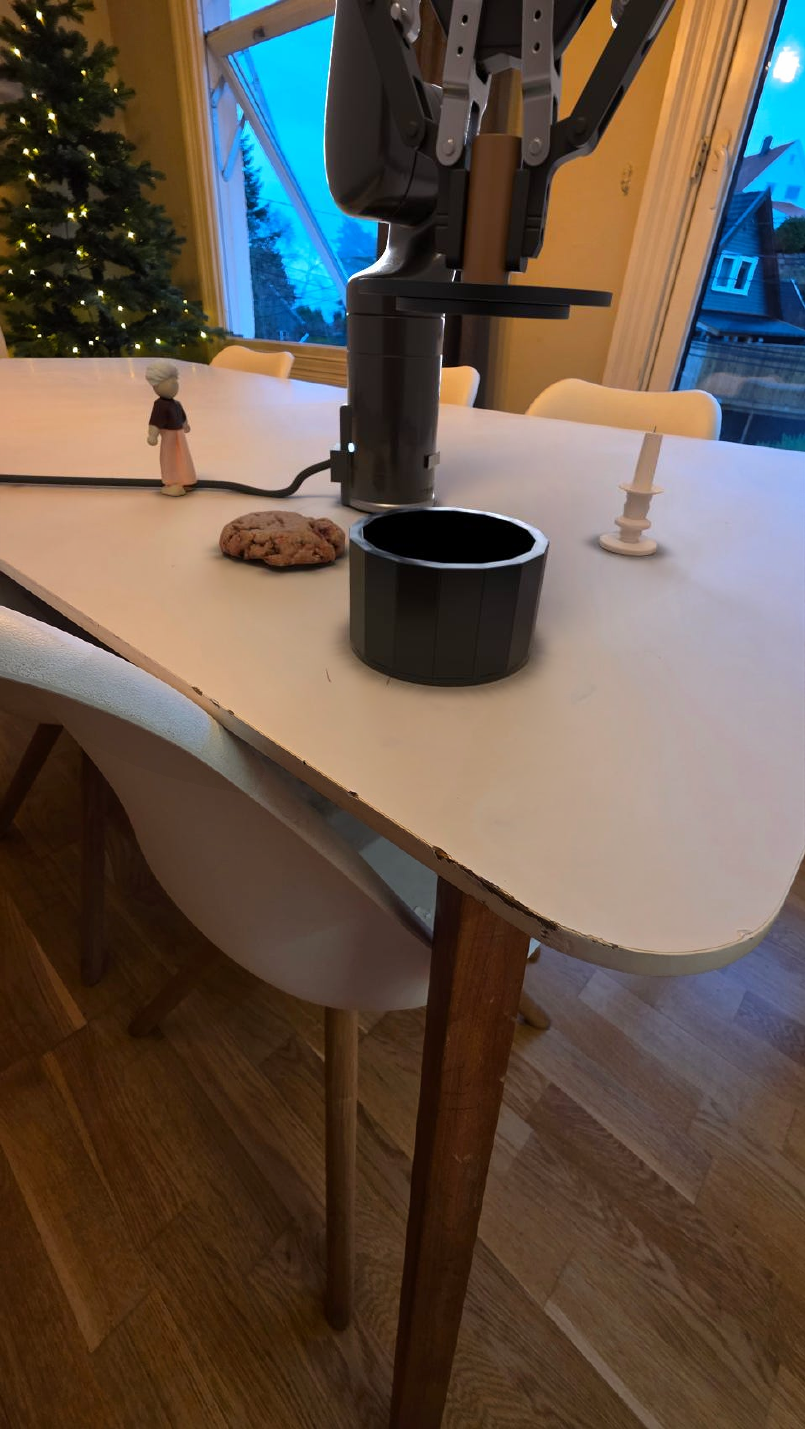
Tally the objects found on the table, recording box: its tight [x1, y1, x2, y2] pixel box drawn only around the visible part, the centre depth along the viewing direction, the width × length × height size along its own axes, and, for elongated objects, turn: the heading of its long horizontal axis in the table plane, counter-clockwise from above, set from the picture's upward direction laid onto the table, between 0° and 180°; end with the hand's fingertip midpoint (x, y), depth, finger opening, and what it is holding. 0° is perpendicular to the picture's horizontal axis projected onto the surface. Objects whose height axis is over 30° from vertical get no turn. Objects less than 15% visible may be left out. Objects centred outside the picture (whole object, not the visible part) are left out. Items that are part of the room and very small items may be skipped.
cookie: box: [218, 510, 346, 567], centre depth 53 cm, size 10×11×3 cm
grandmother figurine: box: [145, 358, 198, 497], centre depth 66 cm, size 8×4×13 cm, turn 179°
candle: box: [598, 425, 665, 557], centre depth 56 cm, size 5×5×10 cm
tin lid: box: [359, 133, 614, 321], centre depth 30 cm, size 13×13×7 cm
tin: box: [348, 506, 550, 687], centre depth 39 cm, size 12×12×7 cm
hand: (485, 269), depth 31 cm, fingers closed on tin lid, 2 cm apart
